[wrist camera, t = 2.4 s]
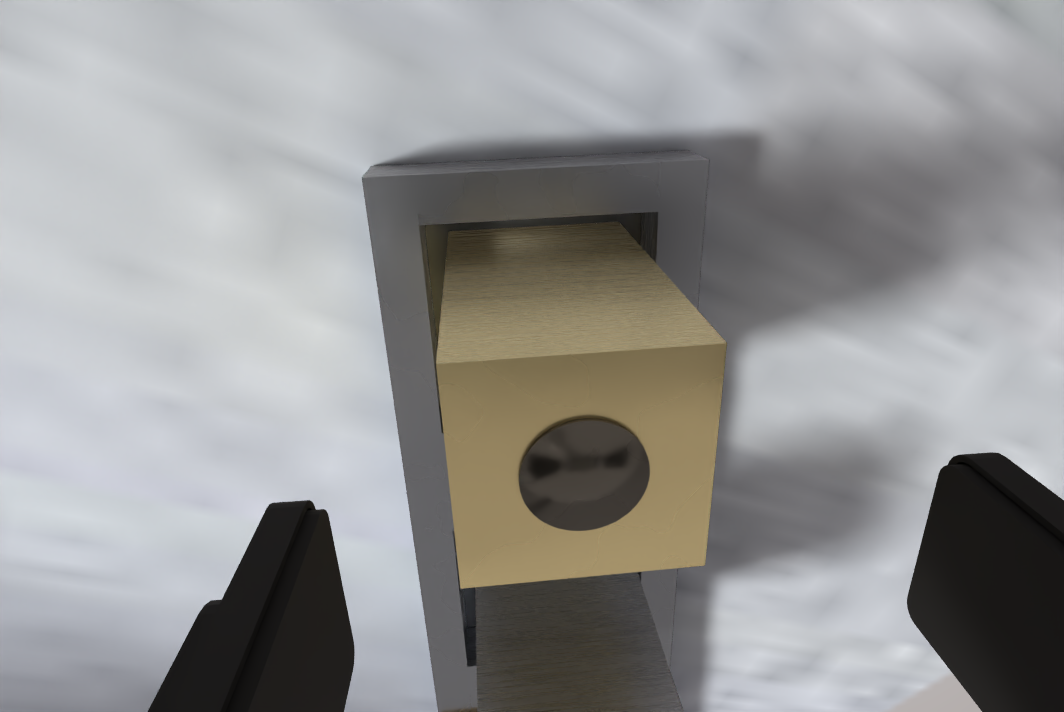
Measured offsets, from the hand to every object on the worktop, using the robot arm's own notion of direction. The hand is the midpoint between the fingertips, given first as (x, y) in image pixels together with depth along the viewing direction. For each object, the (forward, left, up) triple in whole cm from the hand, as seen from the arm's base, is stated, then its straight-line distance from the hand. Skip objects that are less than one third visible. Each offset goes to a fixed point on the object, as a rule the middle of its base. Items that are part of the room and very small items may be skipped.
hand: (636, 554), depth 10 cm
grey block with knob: (+8, -1, -9) cm, 13 cm away
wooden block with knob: (-1, -1, -9) cm, 9 cm away
